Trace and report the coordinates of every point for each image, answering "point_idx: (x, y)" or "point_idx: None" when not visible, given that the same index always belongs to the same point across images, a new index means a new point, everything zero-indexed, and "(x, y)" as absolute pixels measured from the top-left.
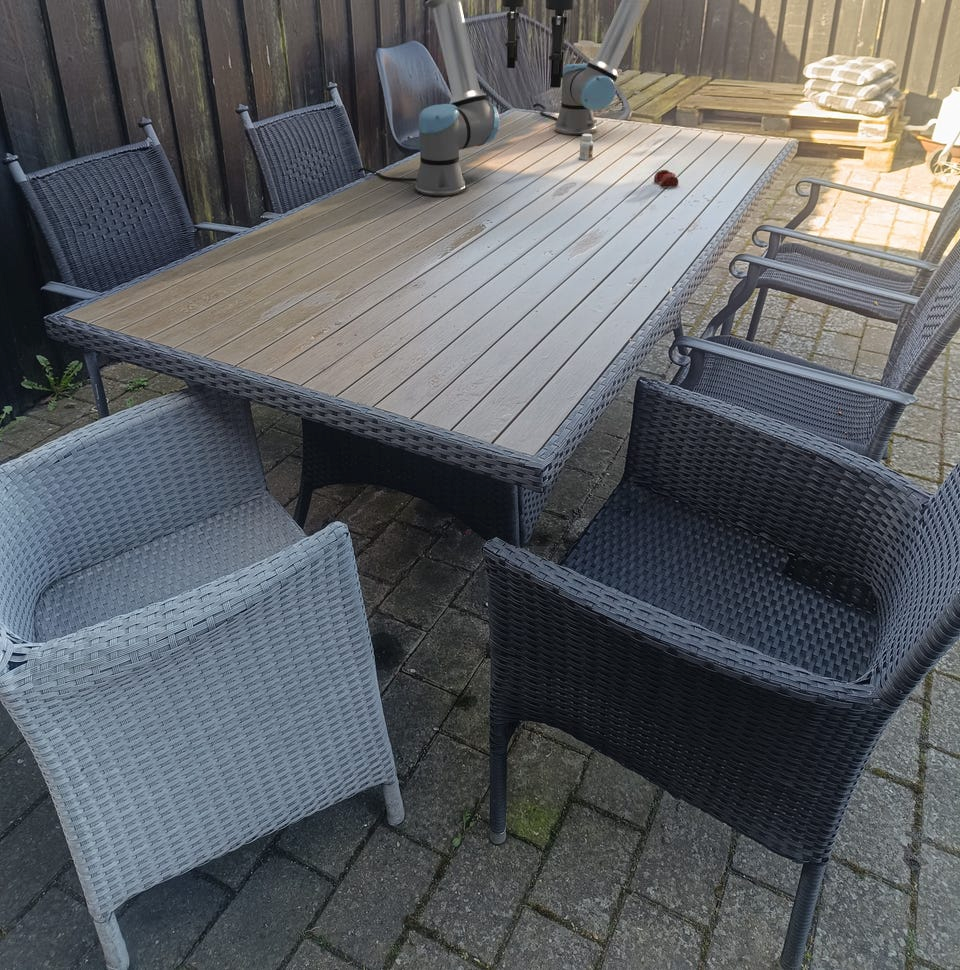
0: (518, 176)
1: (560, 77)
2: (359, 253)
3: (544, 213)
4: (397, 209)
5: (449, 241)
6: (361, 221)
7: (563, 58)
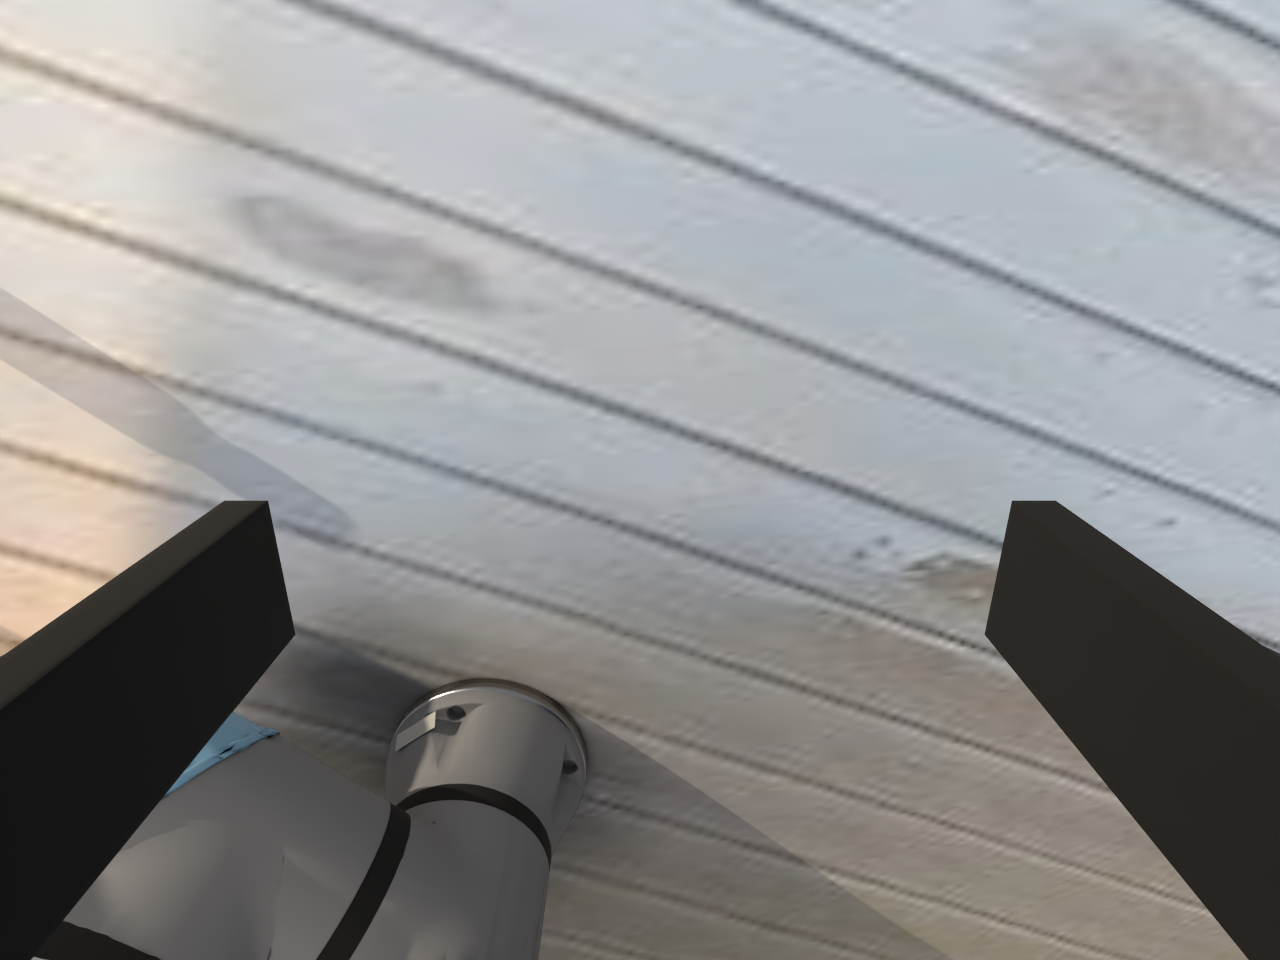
0: (214, 491)
1: (1151, 574)
2: (1162, 867)
3: (755, 336)
4: (743, 844)
5: None
6: (870, 911)
7: (47, 672)
